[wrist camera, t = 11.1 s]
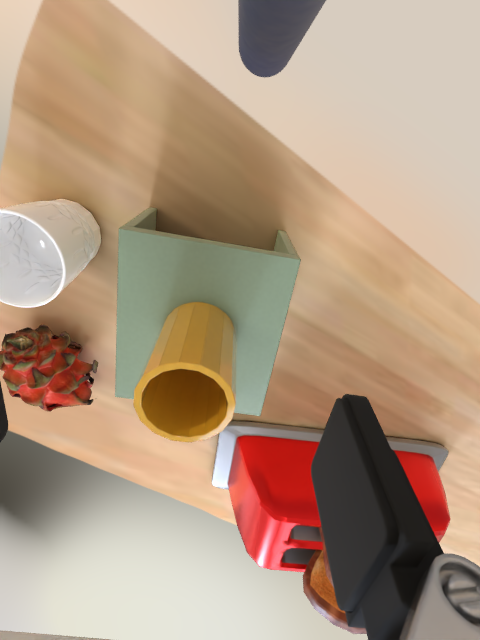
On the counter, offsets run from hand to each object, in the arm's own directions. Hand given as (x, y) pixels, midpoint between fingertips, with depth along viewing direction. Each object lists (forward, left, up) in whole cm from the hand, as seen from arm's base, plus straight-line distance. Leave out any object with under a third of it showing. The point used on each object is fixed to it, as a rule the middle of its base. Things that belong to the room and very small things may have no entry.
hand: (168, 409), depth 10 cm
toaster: (+32, +20, -29) cm, 48 cm away
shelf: (+8, 0, -29) cm, 30 cm away
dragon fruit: (+19, -16, -29) cm, 38 cm away
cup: (+8, 0, -19) cm, 21 cm away
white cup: (+4, -15, -29) cm, 33 cm away
